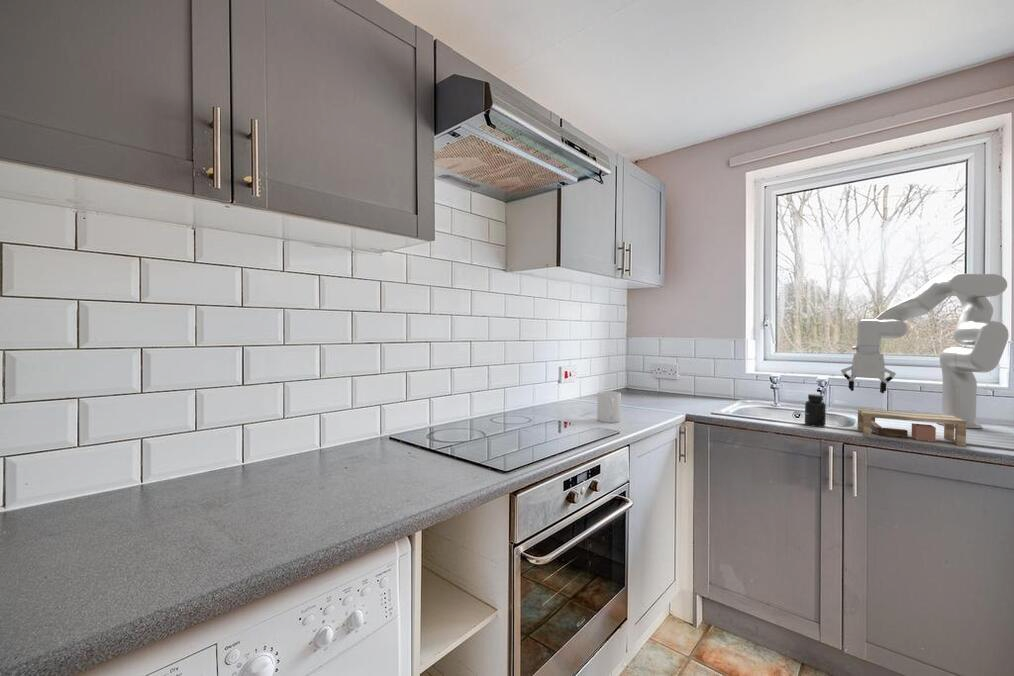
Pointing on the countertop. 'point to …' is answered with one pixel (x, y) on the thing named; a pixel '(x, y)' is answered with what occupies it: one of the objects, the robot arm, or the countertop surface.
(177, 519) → the countertop surface
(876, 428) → the crook
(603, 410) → the mug
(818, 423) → the supplement bottle
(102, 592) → the countertop surface
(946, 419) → the low bench
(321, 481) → the countertop surface
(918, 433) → the cube
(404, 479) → the countertop surface
